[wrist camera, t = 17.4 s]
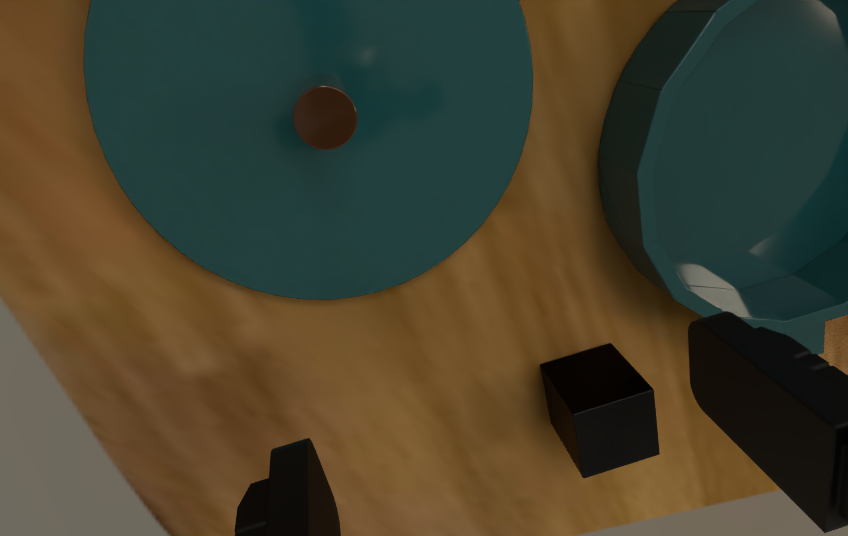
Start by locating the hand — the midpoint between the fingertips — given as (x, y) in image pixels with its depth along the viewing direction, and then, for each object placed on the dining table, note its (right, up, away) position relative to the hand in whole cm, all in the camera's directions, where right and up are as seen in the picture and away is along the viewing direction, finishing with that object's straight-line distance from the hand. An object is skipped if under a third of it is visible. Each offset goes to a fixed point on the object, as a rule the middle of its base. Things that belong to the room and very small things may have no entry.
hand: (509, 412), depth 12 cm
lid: (-6, +11, +15) cm, 20 cm away
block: (+8, -4, +25) cm, 26 cm away
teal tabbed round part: (+16, +10, +20) cm, 28 cm away
